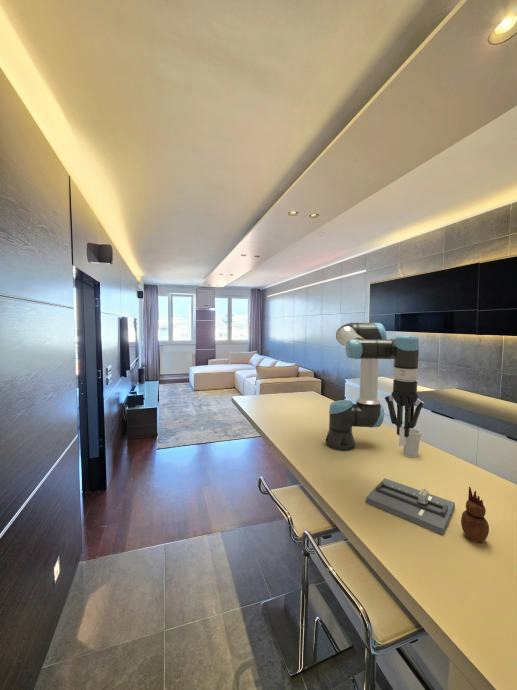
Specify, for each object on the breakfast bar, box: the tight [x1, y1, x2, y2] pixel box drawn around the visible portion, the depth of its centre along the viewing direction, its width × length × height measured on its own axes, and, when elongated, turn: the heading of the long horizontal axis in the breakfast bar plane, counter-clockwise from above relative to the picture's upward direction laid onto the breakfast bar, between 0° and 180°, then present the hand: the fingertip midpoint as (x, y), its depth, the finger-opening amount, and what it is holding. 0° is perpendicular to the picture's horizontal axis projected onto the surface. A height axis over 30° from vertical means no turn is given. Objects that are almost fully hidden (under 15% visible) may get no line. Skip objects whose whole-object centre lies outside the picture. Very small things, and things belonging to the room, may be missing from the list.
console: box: [365, 478, 456, 536], centre depth 104 cm, size 24×18×4 cm
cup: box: [403, 428, 422, 459], centre depth 144 cm, size 8×8×12 cm
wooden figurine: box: [460, 486, 490, 544], centre depth 88 cm, size 7×6×15 cm
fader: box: [417, 488, 429, 507], centre depth 101 cm, size 3×4×5 cm, turn 137°
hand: (402, 444), depth 105 cm, fingers closed
